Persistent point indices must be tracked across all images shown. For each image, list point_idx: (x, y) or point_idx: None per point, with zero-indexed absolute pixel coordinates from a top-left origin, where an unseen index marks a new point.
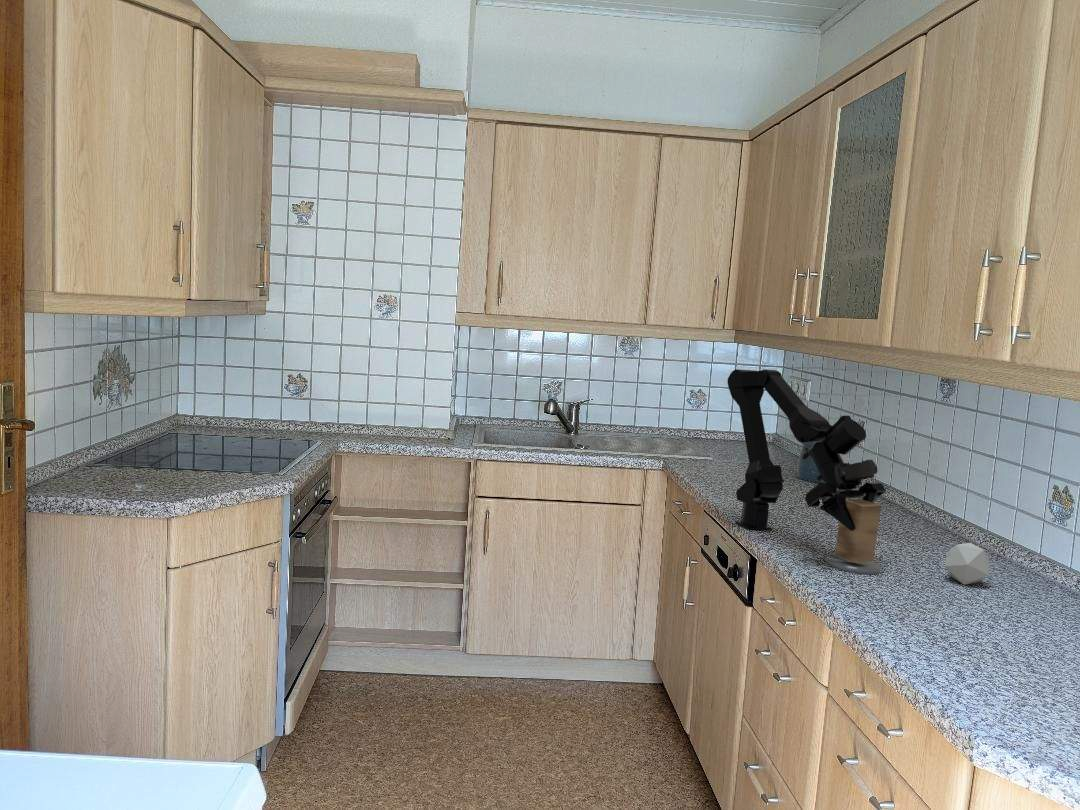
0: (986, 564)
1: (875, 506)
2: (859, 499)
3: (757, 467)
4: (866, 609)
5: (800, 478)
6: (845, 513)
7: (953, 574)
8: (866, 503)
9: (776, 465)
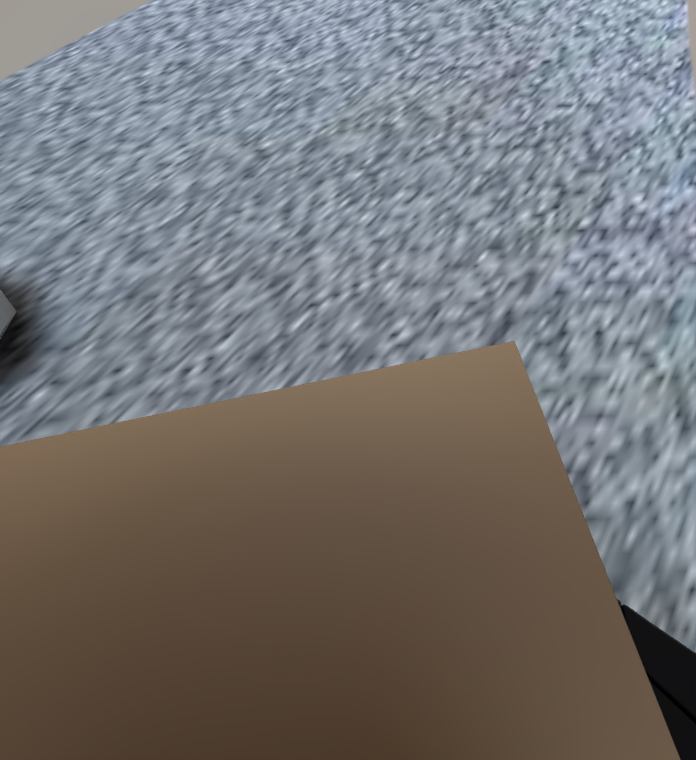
0: None
1: (130, 423)
2: None
3: None
4: (585, 120)
5: None
6: (627, 612)
7: (4, 327)
8: (182, 662)
9: None
